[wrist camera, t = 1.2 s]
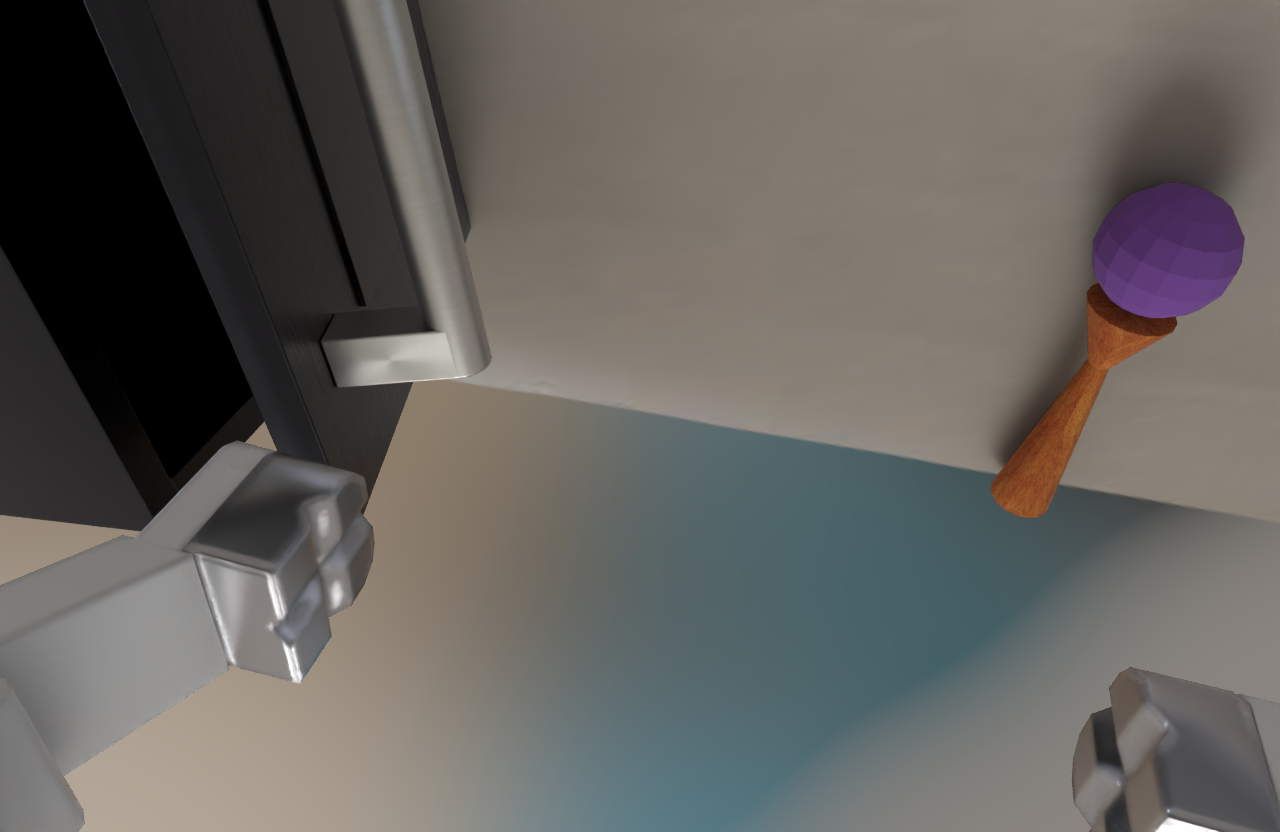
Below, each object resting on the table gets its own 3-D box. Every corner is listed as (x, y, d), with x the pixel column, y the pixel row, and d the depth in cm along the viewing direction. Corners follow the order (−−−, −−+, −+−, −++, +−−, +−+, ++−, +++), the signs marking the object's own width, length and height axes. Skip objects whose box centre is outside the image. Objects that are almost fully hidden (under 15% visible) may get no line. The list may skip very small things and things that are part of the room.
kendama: (958, 509, 53) (1123, 202, 39) (978, 444, 57) (1134, 144, 43) (1064, 552, 52) (1274, 250, 38) (1077, 482, 56) (1271, 186, 42)
